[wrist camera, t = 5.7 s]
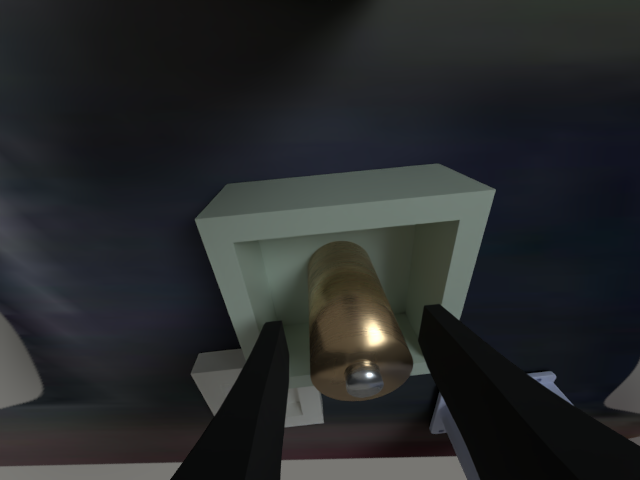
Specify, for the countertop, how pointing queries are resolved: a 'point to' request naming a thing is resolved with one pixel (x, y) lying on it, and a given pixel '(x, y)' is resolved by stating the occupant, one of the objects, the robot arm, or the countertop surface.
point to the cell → (352, 327)
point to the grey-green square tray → (344, 225)
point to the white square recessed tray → (223, 370)
